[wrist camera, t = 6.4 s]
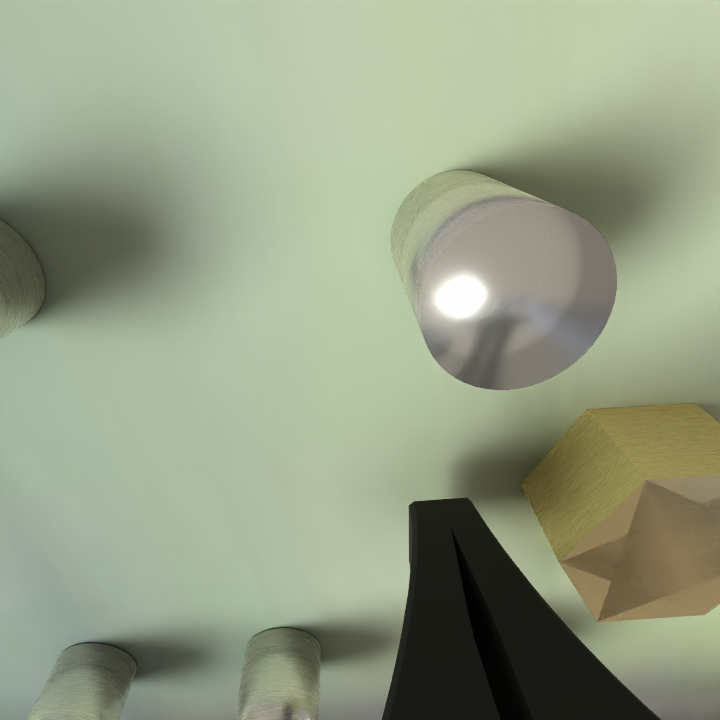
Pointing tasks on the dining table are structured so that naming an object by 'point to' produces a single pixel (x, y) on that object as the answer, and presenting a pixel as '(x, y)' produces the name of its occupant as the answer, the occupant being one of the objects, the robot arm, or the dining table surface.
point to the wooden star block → (635, 510)
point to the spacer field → (447, 345)
